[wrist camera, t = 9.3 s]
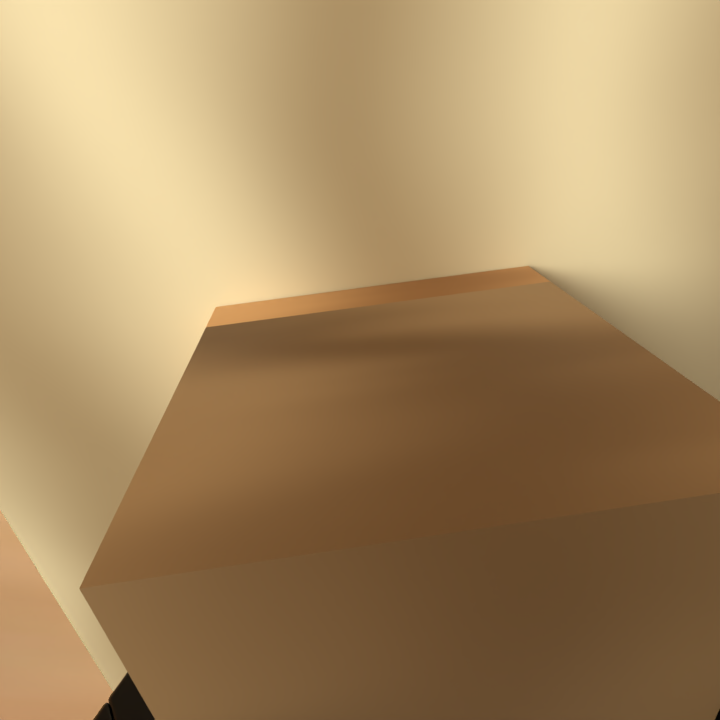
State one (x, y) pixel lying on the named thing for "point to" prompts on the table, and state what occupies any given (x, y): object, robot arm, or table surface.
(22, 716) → the table surface
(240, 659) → the block
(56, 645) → the table surface
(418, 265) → the pine board
